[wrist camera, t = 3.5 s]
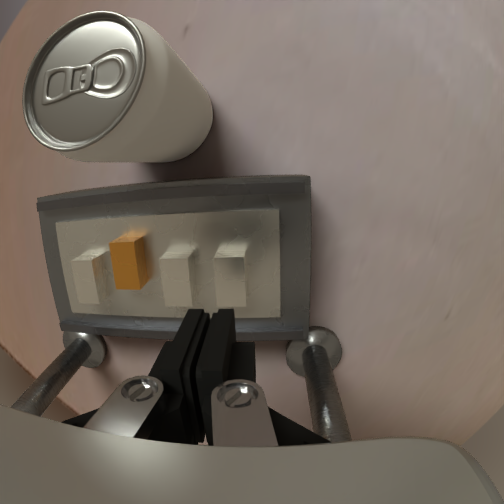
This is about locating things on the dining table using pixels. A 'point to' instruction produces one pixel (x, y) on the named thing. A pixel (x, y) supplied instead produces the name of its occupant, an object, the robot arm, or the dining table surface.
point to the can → (114, 93)
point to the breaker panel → (182, 255)
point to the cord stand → (297, 355)
